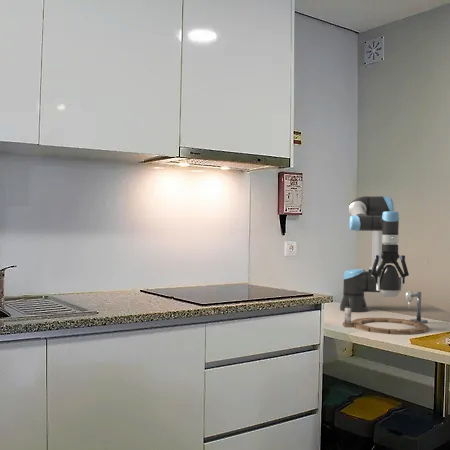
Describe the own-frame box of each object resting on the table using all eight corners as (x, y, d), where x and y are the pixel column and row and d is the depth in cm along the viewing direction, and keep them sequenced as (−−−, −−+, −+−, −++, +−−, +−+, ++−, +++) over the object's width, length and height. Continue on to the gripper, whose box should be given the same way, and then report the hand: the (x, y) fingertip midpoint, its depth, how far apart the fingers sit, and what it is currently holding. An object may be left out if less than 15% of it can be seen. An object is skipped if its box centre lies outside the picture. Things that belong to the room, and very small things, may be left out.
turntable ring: (336, 319, 279) (336, 303, 279) (412, 321, 279) (412, 304, 279) (351, 333, 245) (351, 314, 245) (438, 334, 245) (438, 315, 245)
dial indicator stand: (417, 321, 280) (417, 288, 280) (427, 323, 275) (428, 290, 275) (400, 323, 272) (401, 290, 272) (411, 325, 267) (411, 291, 267)
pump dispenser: (383, 294, 269) (383, 263, 269) (403, 296, 263) (404, 264, 262) (374, 296, 261) (374, 264, 261) (395, 298, 255) (395, 265, 255)
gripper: (368, 243, 258) (367, 291, 258) (416, 244, 258) (415, 292, 258) (364, 243, 266) (363, 289, 266) (411, 243, 266) (410, 290, 266)
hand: (389, 290), depth 262 cm, fingers closed on pump dispenser, 10 cm apart
